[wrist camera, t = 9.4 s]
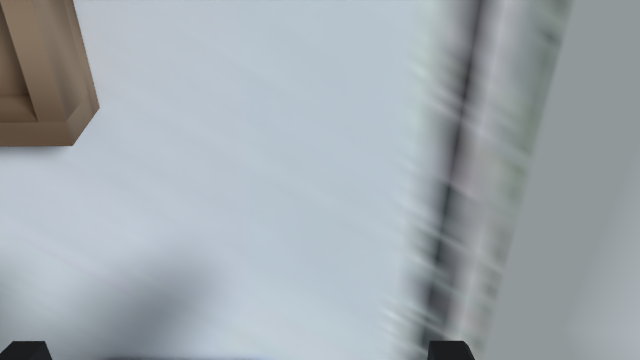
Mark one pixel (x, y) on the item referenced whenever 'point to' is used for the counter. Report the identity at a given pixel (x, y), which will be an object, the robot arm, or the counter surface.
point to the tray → (43, 74)
